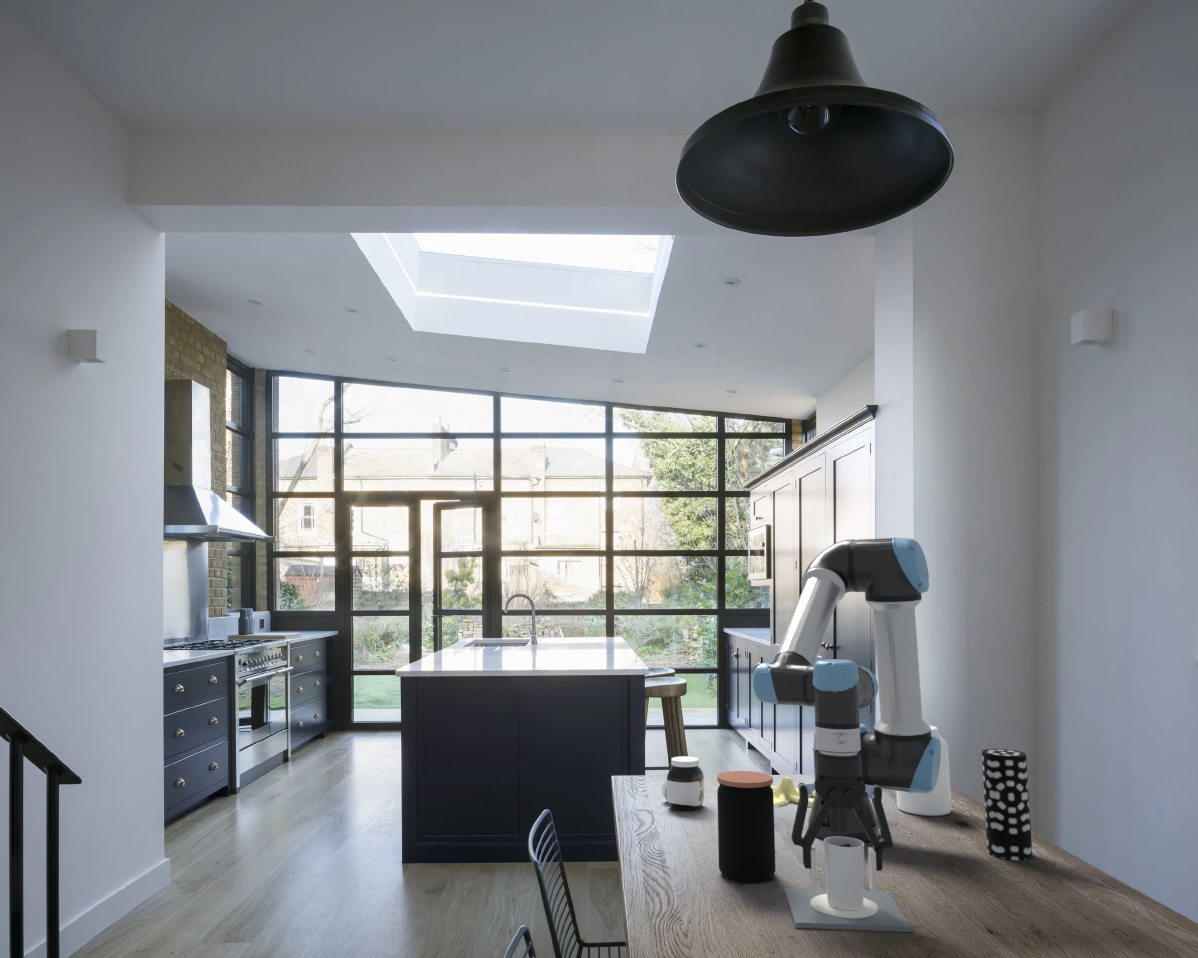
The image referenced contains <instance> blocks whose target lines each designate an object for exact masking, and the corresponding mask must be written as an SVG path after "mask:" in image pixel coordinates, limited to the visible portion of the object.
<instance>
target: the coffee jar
mask: <svg viewBox="0 0 1198 958" xmlns="http://www.w3.org/2000/svg"><path fill="white" fill-rule="evenodd" d="M716 779H717V780H716V781H717V782H718V783H719V786H718V787H717V791H716V792H717V794H716V795H717V840H718V841H717V842H718V843H717V844H718V847H717V848H718V869H719V872H721V874H722V876H723V877H724V878H725V879H728V880H729V881H733V882H737V883H741V884H742V883H744V884H759V883H765V882H768V881H769V880H771V879H772V878H773V876H774V875H775V873H776V843H775V842H776V841H775V839H776V838H775V808H774V798H773V789H772V788H771V786H773V783H774V779H773V775H770V774H768V773H764V772H761V771H760V772H759V771H752V770H732V771H724V772H720V773H719V774H717V777H716Z"/></svg>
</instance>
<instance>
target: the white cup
mask: <svg viewBox="0 0 1198 958" xmlns="http://www.w3.org/2000/svg"><path fill="white" fill-rule="evenodd" d="M823 848H824V849H823V850H824V852H823V853H824V866H825V881H826V883H825V884H826V889H827V900H828V904H829V905H830V906H832V907H834V908H838V909H842V910H859V909H861V908H863V890H864V886H865V883H864V879H865V877H864V876H865V842H862V841H860V840H858V839H854V838H849V837H828V838H825V839H823Z"/></svg>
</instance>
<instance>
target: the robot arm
mask: <svg viewBox="0 0 1198 958" xmlns="http://www.w3.org/2000/svg"><path fill="white" fill-rule="evenodd" d="M927 563H928V562H927V559H926V556H925V553H924V551H923V548H922V546H921V545H920V543H919V542H918V541H917V540H916V539H913V538H904V537H886V538H865V539H864V538H863V539H862V538H861V539H853V538H851V539H844V540H840V541H838V542H835V543H832V544H831V545H830V546H828V547H826V548H825V549H824V550H822V551H821V552H820V553H819V554H818V555H816V556H815V557H814V558H813V559H812V560H811V562H809V564H808V565H807V567H806V569H805V571H804V573H803V575H802V578H801V588H802V590H801V593H800V595H799V598H798V600H797V602H796V605H795V608H794V610H793V612H792V615H791V617H790V620H789V622H788V625H787V628H786V629H785V632H784V635H783V638H782V640H781V643H780V644H779V647H778V649H777V653H776V655H775V657H774V659H773V661H772V662H771V663H770V662H768V661H767V662H763V663H759V664H758V665H756V667H755V669H754V672H753V677H752V688H753V692H754V694H755V697H756V698H757V700H758V701H759V702H762V703H766V704H774V705H784V706H785V705H787V706H799V707H800V706H801V707H803V706H805V707H814V730H815V731H814V734H813V748H812V751H813V769H814V771H813V772H814V782H813V783H806V784H805V783H804V782H799V783H798V785H797V788H799V795H800V798H799V802H798V803H797V808H796V812H795V819H794V823H793V828H792V832H791V840H792V843H793V845H794V846H799V847H801V848H802V863H803V866H804V868H805V869H809V884H810V889H812V891H817V889H818V884H817V883H818V880H817V879H818V878H817V853H816V852H817V851H816V848H815V846H814V845H813V844H814V843H815V840H816V837H817V838H820V839H823V840H824V839H825V838H828V837H849V838H854V839H858V840H860V841H862V842H863V843H865V842H870V843H871V845H872V847H871V846H870V847H869V846H867V859H868V860H867V861H868V885H869V889H870V891H872V892H873V893H877V891H878V877H877V875H878V874H877V871H878V872H879V871H880V872H881V871H882V870H883V852H884V850H885V849H888V848H892V847H893V846H894V841H893V839H892V838H893V837H892V835H891V832H890V828H889V824H888V820H887V817H886V813H885V809H884V806H883V802H882V798H883V790H889V791H895V792H896V791H904V792H909V793H930V792H931V791H932V790H933V789H934V788H935V785H936V783H937V779H938V774H939V768H940V759H941V745H940V740H939V739H938V738H936V737H932V736H931V728H930V726H929V725H930V724H928V723H926V721H925V720H924V719H923V705H922V693H921V678H920V664H919V649H918V647H919V646H918V637H917V634H918V632H917V623H916V622H917V619H916V607H917V606H918V605H919V604H920V603H921V602H922V601H923V600H922V599H923V598H922V597H923V596H922V594H924V593H926V592H928V591H929V588H930V587H929V586H930V581H929V580H930V579H929V578H930V574H929V569H928V564H927ZM848 593H864V596H865V597H864V598H865V602H866V603H867V604H868V605H869V606H870V607H871V608H872V610H873V627H874V637H875V638H874V641H875V652H876V667H877V669H876V671H877V677H876V676H875V674H874V673H873V672H872V671H871V670H869V669H868V668H866V667H864V666H861V665H857V663H856V662H855V661H853V660H850V659H837V658H836V659H831V658H829V659H820V660H819V659H818V660H817V657H818V656H819V652H820V649H821V647H822V643H823V641H824V638H825V636H826V632H827V630H828V628H829V625H830V622H831V619H832V617H833V614H834V611H835V609H836V605H837V604H838V603H839V602H841V601H842V599H844V597H845V595H846V594H848ZM816 660H817V661H816ZM877 695H878V698H879V699H878V700H879V715H880V719H879V720H877V722H876V723H875V724H874V726H873V731H874V732H872V731H871V732H870V731H868V728H867V726H866V725H867V724H864V723H861V722H860V721H861V719H860V710H862V709H864V708H866V707H868V706H869V705H871V704H872V702H873V701H874V700H875V699H876V698H877ZM813 791H815V797H813V799H814V802H813V805H812V807H811V808H810V813H809V815H808V820H807V829H806V831H805V833H804V836H802V835H803V830H804V825H805V820H806V815H807V812H808V808H809V807H808V798H812V793H813ZM880 835H881V838H880V839H879V837H880Z"/></svg>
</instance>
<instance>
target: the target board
mask: <svg viewBox="0 0 1198 958" xmlns="http://www.w3.org/2000/svg"><path fill="white" fill-rule="evenodd" d="M784 895H785V898H786V901H787V905H788V907H789V911H790V915H791V917H792V920H793V924H794V926H795V927H794V928H797V929H819V930H822V929H823V930H842V931H843V930H845V931H847V930H848V931H870V932H872V931H873V932H874V931H876V932H898V933H901V932H902V933H912V926H911V924H910V922H909V921H908V919H907V918H906V916H905V914H904V913H903V911H902V910H901V908H900V907H899V906H898V904H897V903H896V901H895V900H894V898H893V896H892V895H891V893H890V892H889V890H877V893H873V892H872V891H871V890H866V889H865V890H863V908H861V909H859V910H842V909H838V908H834V907H832V906H830V905H829V904H828V900H827V888H817V891H812V889H811V888H804V887H803V888H799V887H797V888H796V887H784Z"/></svg>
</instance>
